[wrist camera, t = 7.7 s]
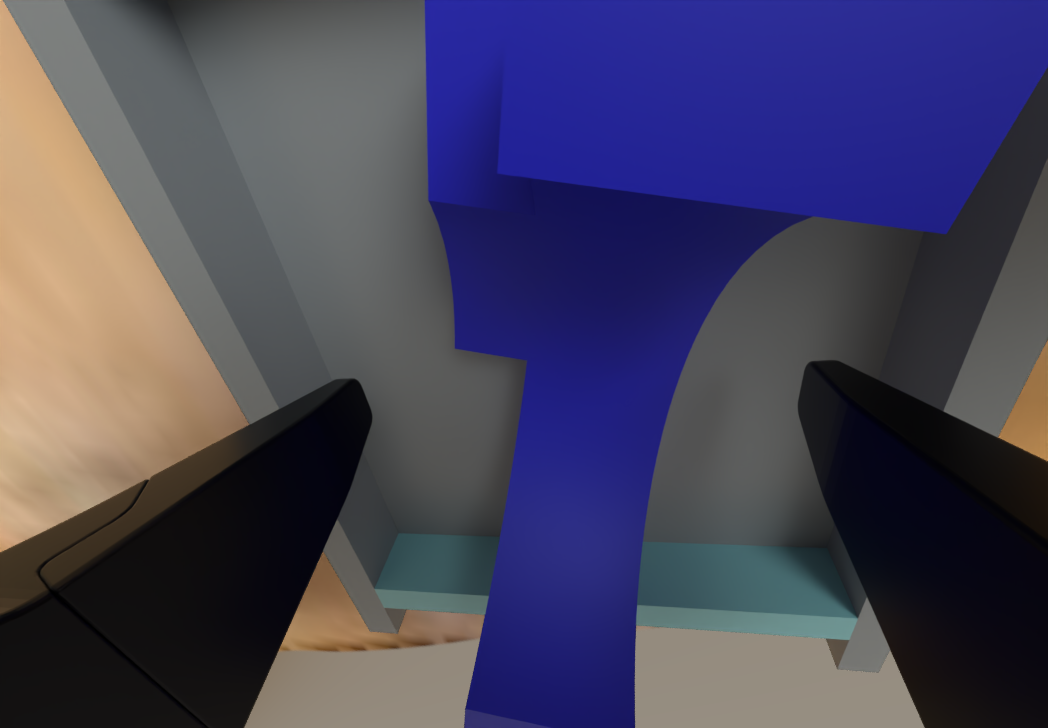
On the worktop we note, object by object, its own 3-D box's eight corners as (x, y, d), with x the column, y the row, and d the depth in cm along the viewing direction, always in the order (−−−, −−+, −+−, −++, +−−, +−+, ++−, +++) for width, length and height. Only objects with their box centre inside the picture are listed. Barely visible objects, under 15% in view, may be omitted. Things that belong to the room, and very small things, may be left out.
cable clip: (484, -17, 8) (244, -152, 3) (773, 12, 7) (1133, -72, 2) (465, 490, 14) (389, 724, 9) (614, 518, 14) (617, 775, 9)
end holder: (1242, -654, 5) (1947, -1440, 2) (834, 571, 15) (878, 672, 13) (61, -218, 8) (-197, -344, 5) (402, 553, 18) (370, 631, 16)
